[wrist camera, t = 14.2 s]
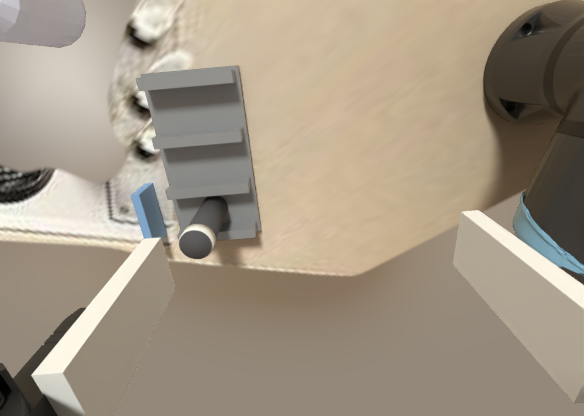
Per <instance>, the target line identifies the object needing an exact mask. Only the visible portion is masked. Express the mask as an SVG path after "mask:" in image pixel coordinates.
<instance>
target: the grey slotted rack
mask: <svg viewBox="0 0 584 416" xmlns="http://www.w3.org/2000/svg"><path fill="white" fill-rule="evenodd" d="M136 82H137V86H138V89H139V91H145V93H146V97H147V101H148V105H149V109H150V113H151V117H152V121H153V124H154V128H155V132H156V136H155V137H153V138H152V142H153V146H154V149H160V152H161V156H162V159H163V163H164V167H165V171H166V175H167V179H168V183H169V187H168V188H167V189H166V190H165V191H166V195H167V199H168V200H172V199H173V202H174V206H175V210H176V214H177V218H178V222H179V225H180V229H181V230H180V232H179V234H178V235H177V237H178V240H179V238H180V236H181V235H182V233H183V232H184V230H185V229H186V228H187V227H188V225H189V224H190V222H191V220H192V219H193V217H194V216H195V214H196V213H197V211H198V209H199V208H200V206H201V205H202V203H203V201H204V200H205V199H206V198H207V197H208V196H220V197H222V198H223V199H224V200H225V201H226V202H227V205H228V211H227V213H226V216H225V218H224V221H223V223H222V225H221V228H220V230H219V233H218V235H217V238H216V241H220V240H232V239H244V238H255V237H256V233H257V231H261V225H260V218H259V211H258V203H257V196H256V189H255V181H254V174H253V167H252V160H251V152H250V145H249V138H248V130H247V123H246V116H245V109H244V101H243V94H242V87H241V80H240V72H239V66H227V67H216V68H204V69H193V70H182V71H170V72H159V73H148V74H141V78H136Z"/></svg>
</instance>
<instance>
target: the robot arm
mask: <svg viewBox="0 0 584 416" xmlns="http://www.w3.org/2000/svg"><path fill="white" fill-rule="evenodd" d="M484 88H485V94H486V97H487V100H488V102H489V104H490V106H491V107H492V109H493V110H494V111H495V112H496V113H497V114H498V115H500V116H501V117H503V118H505V119H507V120H509V121H513V122H517V123H522V124H543V123H549V122H554V121H559V120H561V122H560V124H559V126H558V128H557V130H556V132H555V134H554V136H553V138H552V140H551V142H550V144H549V146H548V148H547V150H546V151H545V153H544V155H543V157H542V159H541V161H540V163H539V165H538V167H537V169H536V171H535V173H534V175H533V177H532V179H531V181H530V183H529V185H528V187H527V189H526V191H525V192H523V193H522V195H521V198H520V205H519V207H518V209H517V212H516V214H515V216H514V219H513V228H514V231H515V234H516V236H517V237H518V238H517V237H515V236H514V235H513V234H511V233H510V232H508V231H507V230H506V229H504V228H503V227H501V226H500V225H498V224H497V223H496V222H494V221H493V220H492V219H490V218H489V217H487V216H486V215H484V214H483V213H482V212H480V211H479V210H476V211H465V212H461V215H460V222H459V228H458V234H457V242H456V247H455V254H454V260H453V266H454V267H456V269H457V270H458V271H459V272H460V273H461V275H462V276H463V277H464V278H465V279H466V280H467V282H468V283H469V284H470V285H471V286H472V287H473V288H474V289H475V291H476V292H477V293H478V294H479V295H480V296H481V298H482V299H483V300H484V301H485V302H486V303H487V304H488V306H489V307H490V308H491V309H492V310H493V311H494V312H495V314H496V315H497V316H498V317H499V318H500V319H501V320H502V321H503V323H504V324H505V325H506V326H507V327H508V328H509V329H510V331H511V332H512V333H513V334H514V335H515V336H516V337H517V339H518V340H519V341H520V342H521V343H522V344H523V345H524V347H525V348H526V349H527V350H528V351H529V352H530V353H531V355H532V356H533V357H534V358H535V359H536V360H537V361H538V363H539V364H540V365H541V366H542V367H543V368H544V369H545V371H546V372H547V373H548V374H549V375H550V376H551V377H552V379H553V380H554V381H555V382H556V383H557V384H558V385H559V387H560V388H561V389H562V390H563V391H564V392H565V393H566V395H567V396H568V397H569V398H570V399H571V400H572V401H573V402H574V403H583V402H584V1H581V0H561V1H556V2H552V3H548V4H544V5H541V6H538V7H535V8H533V9H531V10H529V11H527V12H526V13H524V14H523V15H521V16H520V17H518V18H517V19H516V20H515V21H514V22H512V23H511V24H510V25H509V26H508V27H507V28H506V30H505V31H504V32H503V33H502V34H501V36H500V37H499V39H498V40H497V42H496V43H495V45H494V47H493V49H492V51H491V53H490V55H489V58H488V61H487V64H486V68H485V75H484ZM174 290H175V285H174V281H173V277H172V274H171V271H170V267H169V263H168V260H167V257H166V253H165V250H164V246H163V243H162V239H161V237H159V238H148V239H143V240H142V241H141V243H140V244H139V245H138V246H137V247H136V249H135V250H134V251H133V252H132V253H131V255H130V256H129V257H128V258H127V260H126V261H125V262H124V264H122V266H121V267H120V268H119V269H118V271H117V272H116V273H115V274H114V275H113V277H112V278H111V279H110V280H109V282H108V283H107V284H106V285H105V286H104V288H103V289H102V290H101V291H100V292H99V294H98V295H97V296H96V297H95V298H94V300H93V301H92V302H91V303H90V305H89V306H88V307H87V308H80V309H78V310H77V311H75V312H74V313H73V314H71V315H70V316H69V317H67V318H66V319H65V320H64V321H63V322H62V323H61V324H60V325H59V327H58V328H57V329H56V330H55V331H54V334H53V335H51V336H50V337H49V338H48V339H47V340H46V342H45V343H44V345H43V346H41V347H40V348H39V350H38V351H37V352H36V353H35V354H34V355H33V356H32V358H31V359H30V360H29V361H28V362H27V363H26V364H25V366H24V367H23V368H22V369H21V370H20V371H19V372H18V374H17V375H16V376H15V377H14V378H12V377H11V376H10V374H9V372H8V371H7V369H6V368H5V366H4V365H3V364H2V363H0V416H113V415H114V413H115V411H116V409H117V407H118V405H119V403H120V401H121V399H122V397H123V395H124V392H125V390H126V388H127V386H128V384H129V382H130V380H131V378H132V376H133V374H134V372H135V370H136V368H137V366H138V364H139V362H140V360H141V358H142V356H143V353H144V351H145V350H146V347H147V346H148V343H149V342H150V339H151V337H152V335H153V333H154V331H155V329H156V327H157V325H158V323H159V321H160V319H161V317H162V315H163V313H164V311H165V309H166V307H167V305H168V303H169V301H170V299H171V297H172V294H173V292H174Z"/></svg>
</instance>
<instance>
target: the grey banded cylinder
mask: <svg viewBox="0 0 584 416" xmlns="http://www.w3.org/2000/svg"><path fill="white" fill-rule="evenodd" d="M227 211H228V205H227V202H226V201H225V200H224V199H223V198H222V197H220V196H208V197H207V198H206V199H205V200H204V201H203V203H202V205H201V206H200V208H199V209H198V211H197V213H196V214H195V216H194V217H193V219H192V220H191V222H190V224H189V225H188V227H187V228H186V229H185V230H184V232H183V233H182V235H181V236H180V238H179V247H180V249H181V251H182V252H183V253H184V254H185V255H186V256H188V257H190V258H193V259H202V258H205V257H207V256H208V255H209V254H210V253H211V251H212V249H213V247H214V244H215V241H216V238H217V235H218V233H219V230H220V228H221V225H222V223H223V221H224V218H225V216H226V213H227Z"/></svg>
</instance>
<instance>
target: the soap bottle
mask: <svg viewBox="0 0 584 416" xmlns="http://www.w3.org/2000/svg"><path fill="white" fill-rule="evenodd" d="M85 13H86V12H85V8H84V5H83V1H82V0H0V42H10V43H19V44H30V45H39V46H49V47H58V48H60V47H64V46H68V45H71V44H72V43H73V42H75V41H76V40H77V39H78V38H79V37H80V36H81V34H82V32H83V29H84V27H85Z"/></svg>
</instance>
